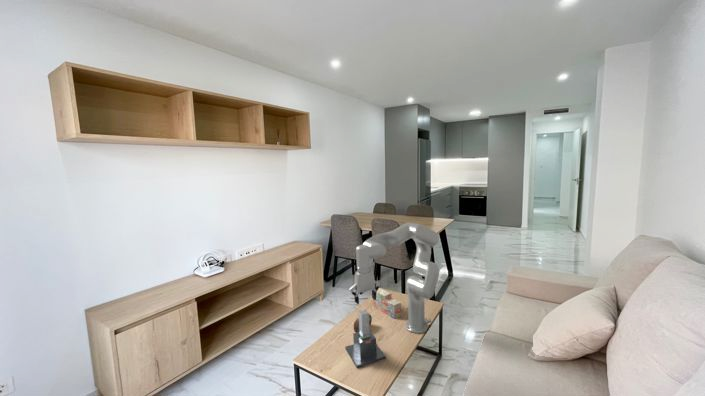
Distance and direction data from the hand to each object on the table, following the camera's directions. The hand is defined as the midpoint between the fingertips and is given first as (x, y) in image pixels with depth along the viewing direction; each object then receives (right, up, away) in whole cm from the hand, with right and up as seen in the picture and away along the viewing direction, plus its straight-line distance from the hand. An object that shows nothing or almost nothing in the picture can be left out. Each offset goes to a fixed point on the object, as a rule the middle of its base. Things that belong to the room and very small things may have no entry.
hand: (365, 301), depth 148 cm
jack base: (0, -28, +1) cm, 28 cm away
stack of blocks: (+16, -23, +45) cm, 53 cm away
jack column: (-1, -21, +1) cm, 21 cm away
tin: (-1, -26, +24) cm, 35 cm away
